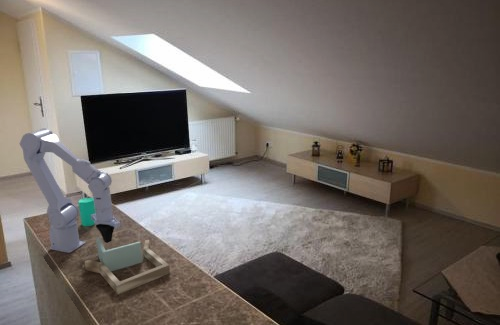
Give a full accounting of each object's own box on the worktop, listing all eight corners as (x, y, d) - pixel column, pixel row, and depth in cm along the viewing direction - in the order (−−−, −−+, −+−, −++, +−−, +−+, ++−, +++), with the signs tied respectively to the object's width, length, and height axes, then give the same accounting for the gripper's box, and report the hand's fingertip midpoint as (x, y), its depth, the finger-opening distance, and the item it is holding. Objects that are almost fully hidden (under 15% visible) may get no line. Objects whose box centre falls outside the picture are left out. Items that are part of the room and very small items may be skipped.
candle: (93, 226, 156) (89, 199, 153) (79, 226, 157) (75, 199, 153) (99, 220, 162) (95, 194, 159) (85, 220, 162) (81, 194, 159)
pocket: (85, 269, 124) (83, 261, 123) (149, 246, 138) (148, 239, 137) (108, 298, 109) (107, 289, 108) (177, 269, 123) (177, 261, 122)
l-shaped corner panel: (142, 262, 128) (140, 242, 126) (105, 273, 122) (102, 252, 120) (133, 248, 138) (130, 229, 136) (98, 257, 132) (95, 238, 130)
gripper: (81, 206, 135) (86, 240, 138) (106, 215, 127) (111, 251, 131) (98, 200, 140) (103, 233, 144) (123, 208, 132) (127, 243, 136)
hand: (108, 241), depth 138 cm, fingers closed
